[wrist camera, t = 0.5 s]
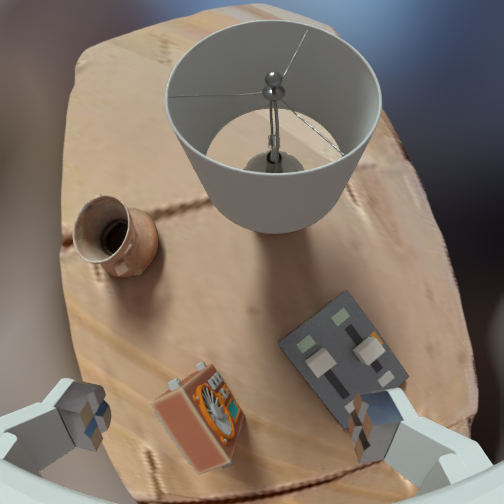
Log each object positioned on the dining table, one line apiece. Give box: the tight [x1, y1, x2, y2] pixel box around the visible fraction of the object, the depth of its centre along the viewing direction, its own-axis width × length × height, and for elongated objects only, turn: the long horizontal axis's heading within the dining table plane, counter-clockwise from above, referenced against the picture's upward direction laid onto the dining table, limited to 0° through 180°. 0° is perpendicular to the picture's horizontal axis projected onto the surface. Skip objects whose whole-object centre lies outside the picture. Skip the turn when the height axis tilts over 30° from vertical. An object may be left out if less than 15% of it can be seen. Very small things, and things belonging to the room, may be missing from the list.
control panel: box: [151, 362, 245, 475], centre depth 46 cm, size 21×7×15 cm
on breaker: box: [305, 347, 337, 378], centre depth 51 cm, size 3×4×4 cm
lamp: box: [165, 20, 382, 234], centre depth 44 cm, size 20×20×39 cm
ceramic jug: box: [73, 194, 158, 278], centre depth 56 cm, size 18×14×14 cm
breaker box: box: [277, 290, 409, 429], centre depth 54 cm, size 22×16×3 cm
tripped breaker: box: [353, 337, 385, 366], centre depth 51 cm, size 3×4×4 cm
